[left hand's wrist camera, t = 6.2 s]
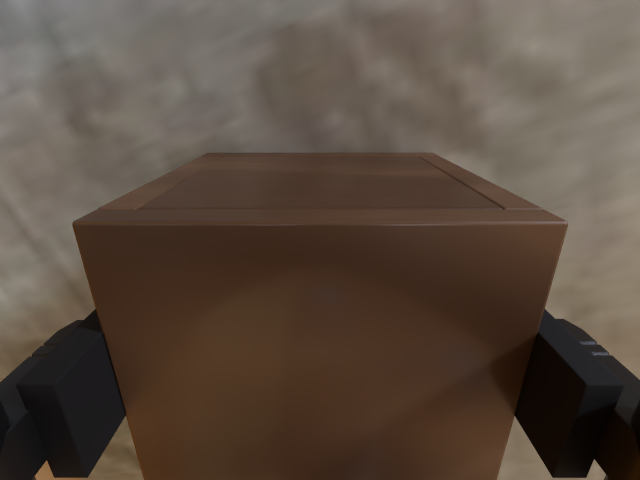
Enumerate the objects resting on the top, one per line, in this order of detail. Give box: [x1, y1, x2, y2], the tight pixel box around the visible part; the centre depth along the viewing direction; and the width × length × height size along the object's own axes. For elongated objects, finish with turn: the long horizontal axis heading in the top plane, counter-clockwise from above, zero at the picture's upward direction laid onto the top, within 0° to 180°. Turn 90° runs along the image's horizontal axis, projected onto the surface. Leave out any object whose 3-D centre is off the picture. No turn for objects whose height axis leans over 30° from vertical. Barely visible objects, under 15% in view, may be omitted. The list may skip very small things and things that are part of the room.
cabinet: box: [73, 153, 568, 480], centre depth 15 cm, size 17×10×10 cm, turn 0°
